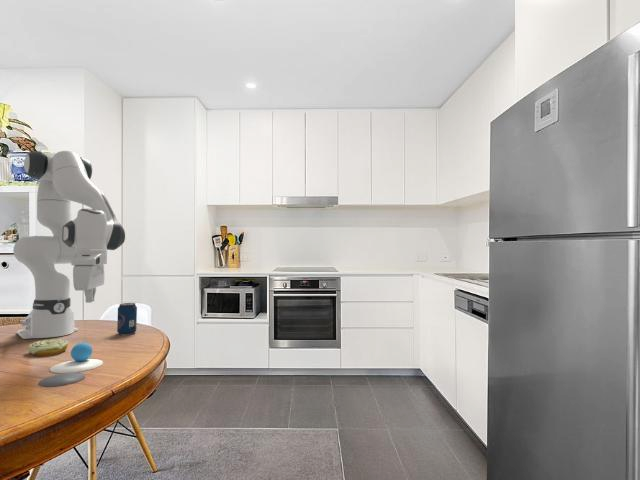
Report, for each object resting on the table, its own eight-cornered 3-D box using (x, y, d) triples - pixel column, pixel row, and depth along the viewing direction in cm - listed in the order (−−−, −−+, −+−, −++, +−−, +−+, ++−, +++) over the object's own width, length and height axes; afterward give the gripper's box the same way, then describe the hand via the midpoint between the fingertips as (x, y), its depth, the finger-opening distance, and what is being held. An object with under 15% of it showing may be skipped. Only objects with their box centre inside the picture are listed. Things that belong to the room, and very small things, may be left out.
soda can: (113, 333, 151) (114, 304, 151) (130, 330, 156) (131, 302, 157) (123, 336, 147) (123, 305, 147) (139, 333, 153) (140, 303, 153)
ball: (67, 345, 114) (66, 363, 111) (78, 339, 112) (77, 358, 109) (85, 346, 118) (84, 363, 116) (96, 340, 116) (95, 358, 114)
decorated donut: (26, 359, 116) (27, 347, 116) (29, 351, 125) (29, 340, 125) (67, 354, 122) (67, 342, 122) (67, 347, 130) (67, 336, 131)
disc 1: (31, 381, 96) (31, 380, 96) (74, 371, 104) (74, 370, 104) (49, 389, 90) (49, 388, 90) (92, 378, 99) (92, 377, 99)
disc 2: (41, 367, 107) (41, 367, 107) (89, 357, 118) (89, 356, 118) (62, 376, 100) (62, 375, 100) (111, 364, 111) (111, 363, 111)
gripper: (89, 258, 129) (88, 298, 129) (69, 259, 110) (67, 306, 109) (109, 258, 131) (108, 297, 131) (93, 259, 111) (92, 306, 111)
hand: (90, 302), depth 120 cm, fingers closed
